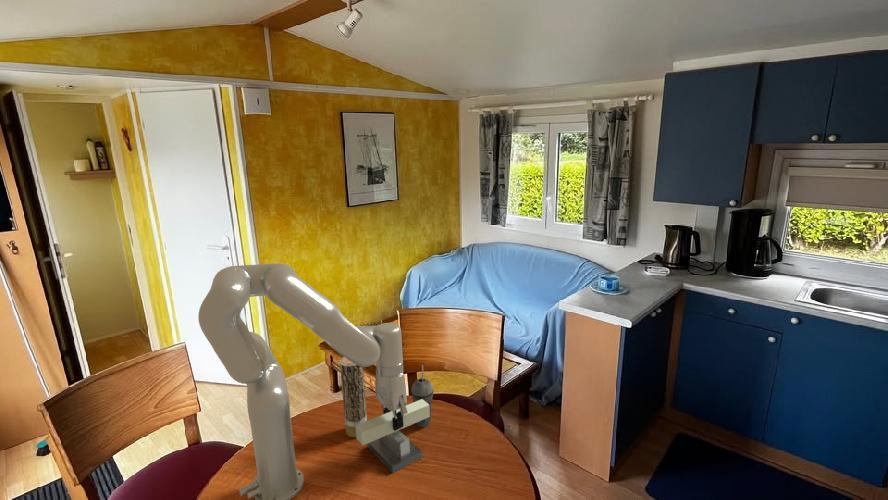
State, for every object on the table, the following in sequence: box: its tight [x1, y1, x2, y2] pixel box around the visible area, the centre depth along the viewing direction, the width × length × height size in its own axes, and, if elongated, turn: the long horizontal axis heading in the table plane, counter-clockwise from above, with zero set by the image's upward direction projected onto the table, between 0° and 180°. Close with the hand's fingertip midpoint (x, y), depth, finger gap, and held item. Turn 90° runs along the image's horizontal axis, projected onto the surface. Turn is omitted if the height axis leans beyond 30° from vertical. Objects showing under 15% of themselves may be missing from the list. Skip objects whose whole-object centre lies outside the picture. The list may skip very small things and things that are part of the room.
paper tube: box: [339, 356, 368, 438], centre depth 136 cm, size 7×7×25 cm
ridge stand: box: [367, 430, 423, 474], centre depth 129 cm, size 10×14×7 cm
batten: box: [355, 399, 430, 446], centre depth 127 cm, size 22×4×4 cm, turn 125°
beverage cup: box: [410, 364, 434, 428], centre depth 141 cm, size 7×7×20 cm
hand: (393, 423), depth 127 cm, fingers closed on batten, 4 cm apart
